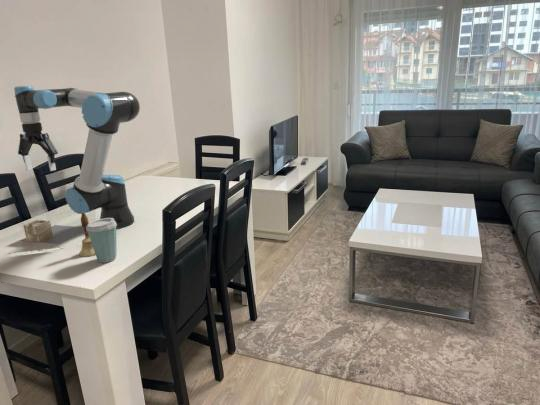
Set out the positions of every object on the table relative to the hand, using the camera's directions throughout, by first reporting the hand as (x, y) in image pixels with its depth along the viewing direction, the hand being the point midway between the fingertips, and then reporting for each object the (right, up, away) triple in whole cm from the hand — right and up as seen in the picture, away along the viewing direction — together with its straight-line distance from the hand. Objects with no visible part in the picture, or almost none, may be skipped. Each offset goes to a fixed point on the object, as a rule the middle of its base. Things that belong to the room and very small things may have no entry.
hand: (41, 170), depth 191 cm
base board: (+11, -30, -7) cm, 32 cm away
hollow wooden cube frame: (+6, -30, -12) cm, 33 cm away
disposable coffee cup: (+42, -36, -33) cm, 64 cm away
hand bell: (+33, -34, -26) cm, 54 cm away
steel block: (+6, -31, -12) cm, 34 cm away
